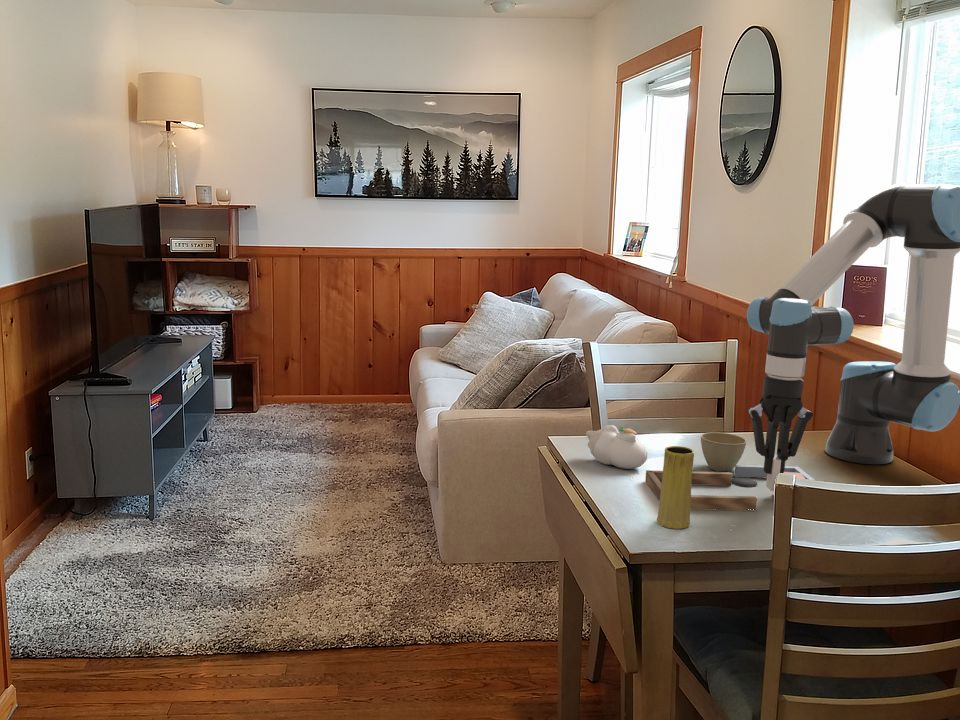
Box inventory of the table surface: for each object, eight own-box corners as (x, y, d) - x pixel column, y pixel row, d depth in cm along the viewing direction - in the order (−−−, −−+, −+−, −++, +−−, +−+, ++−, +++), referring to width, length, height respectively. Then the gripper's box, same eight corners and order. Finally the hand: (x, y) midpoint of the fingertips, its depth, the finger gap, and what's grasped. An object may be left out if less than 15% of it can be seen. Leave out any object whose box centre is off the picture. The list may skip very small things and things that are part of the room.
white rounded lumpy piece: (653, 430, 199) (593, 410, 207) (636, 454, 194) (575, 434, 202) (655, 460, 205) (596, 440, 213) (639, 484, 200) (580, 463, 208)
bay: (796, 476, 201) (797, 466, 201) (815, 492, 191) (816, 481, 191) (734, 475, 200) (735, 465, 200) (749, 490, 190) (750, 479, 190)
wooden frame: (729, 483, 194) (730, 472, 194) (755, 510, 178) (757, 498, 178) (645, 481, 193) (646, 470, 193) (664, 508, 177) (665, 496, 177)
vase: (695, 523, 170) (702, 450, 167) (679, 532, 165) (685, 456, 163) (667, 515, 174) (673, 443, 171) (650, 523, 169) (656, 449, 167)
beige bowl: (745, 477, 199) (748, 445, 198) (698, 472, 201) (701, 441, 200) (741, 464, 209) (744, 434, 208) (697, 460, 211) (699, 430, 209)
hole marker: (752, 479, 198) (752, 477, 198) (760, 487, 193) (761, 485, 193) (727, 478, 198) (727, 477, 198) (735, 486, 193) (736, 485, 193)
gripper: (808, 373, 186) (795, 483, 190) (745, 371, 185) (734, 481, 190) (823, 381, 179) (810, 495, 183) (758, 379, 178) (746, 493, 182)
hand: (771, 488), depth 186 cm, fingers closed
